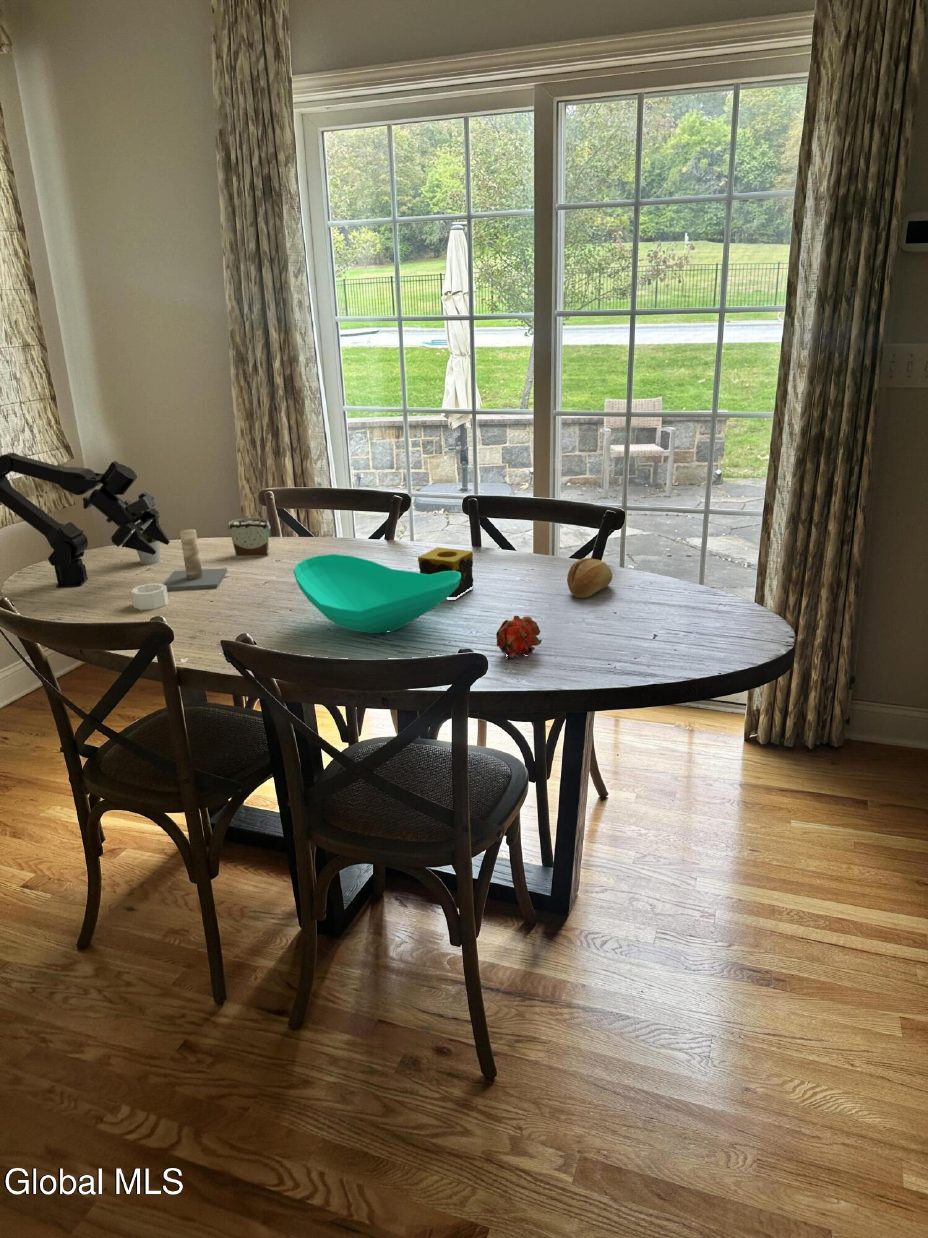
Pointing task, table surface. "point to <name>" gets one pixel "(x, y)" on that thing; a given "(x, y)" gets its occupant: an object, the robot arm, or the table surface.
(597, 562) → the bread roll
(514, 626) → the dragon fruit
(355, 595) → the table top decor
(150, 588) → the holder cup
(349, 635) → the table surface
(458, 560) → the candle
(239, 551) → the food container
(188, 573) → the birch peg
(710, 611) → the table surface
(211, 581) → the rubber mat
